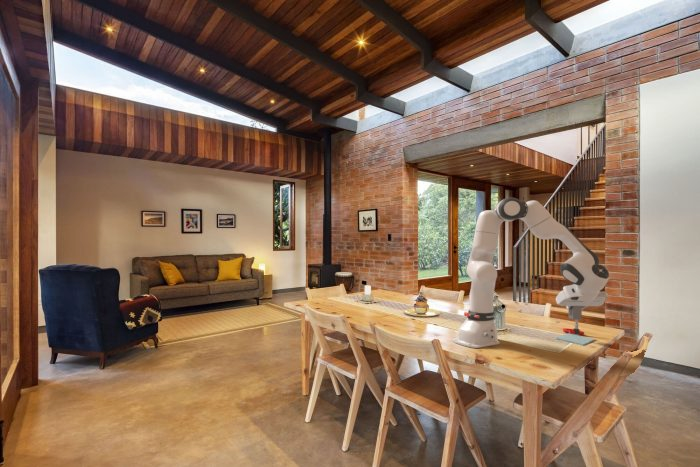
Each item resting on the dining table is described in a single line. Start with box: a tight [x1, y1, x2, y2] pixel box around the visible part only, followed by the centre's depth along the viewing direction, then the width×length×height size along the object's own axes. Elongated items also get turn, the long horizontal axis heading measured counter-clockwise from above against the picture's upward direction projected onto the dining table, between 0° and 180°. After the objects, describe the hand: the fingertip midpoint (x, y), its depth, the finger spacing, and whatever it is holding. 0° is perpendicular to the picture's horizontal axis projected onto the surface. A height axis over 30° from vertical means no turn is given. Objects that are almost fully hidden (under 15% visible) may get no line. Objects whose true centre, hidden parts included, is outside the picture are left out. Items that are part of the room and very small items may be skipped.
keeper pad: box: [555, 332, 596, 346], centre depth 168 cm, size 13×12×1 cm
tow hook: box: [562, 320, 585, 335], centre depth 180 cm, size 8×13×9 cm
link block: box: [568, 306, 583, 321], centre depth 168 cm, size 4×4×9 cm
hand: (574, 308), depth 168 cm, fingers closed on link block, 4 cm apart
